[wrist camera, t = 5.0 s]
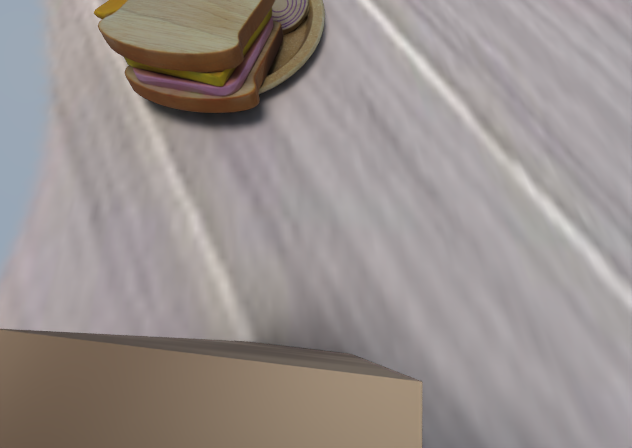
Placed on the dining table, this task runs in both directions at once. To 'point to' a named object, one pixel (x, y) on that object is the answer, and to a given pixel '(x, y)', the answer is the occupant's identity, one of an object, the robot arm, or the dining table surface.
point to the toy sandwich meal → (211, 48)
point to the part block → (197, 395)
